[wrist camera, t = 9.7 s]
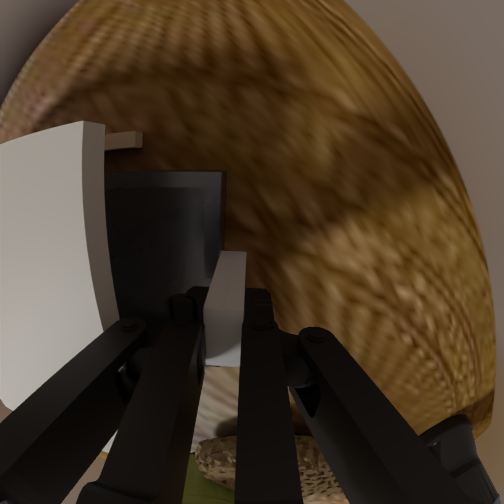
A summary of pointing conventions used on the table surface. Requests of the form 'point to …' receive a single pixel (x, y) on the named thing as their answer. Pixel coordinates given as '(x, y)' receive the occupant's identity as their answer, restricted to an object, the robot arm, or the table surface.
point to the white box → (53, 252)
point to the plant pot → (204, 488)
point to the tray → (162, 236)
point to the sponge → (308, 454)
